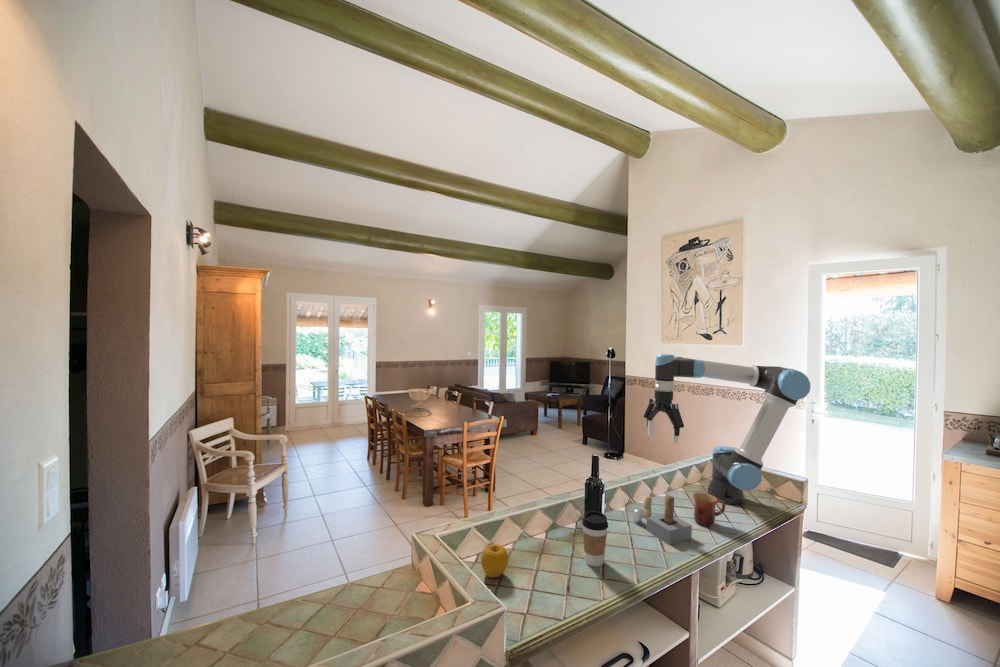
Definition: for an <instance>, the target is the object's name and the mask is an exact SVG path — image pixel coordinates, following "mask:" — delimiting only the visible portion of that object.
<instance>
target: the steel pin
mask: <svg viewBox="0 0 1000 667" xmlns="http://www.w3.org/2000/svg"><path fill="white" fill-rule="evenodd" d="M633 523H634V525H638V526H639V525H643V508H642V509H641V508H638V507H636V508H634V509H633Z"/></svg>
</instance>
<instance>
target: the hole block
mask: <svg viewBox="0 0 1000 667" xmlns="http://www.w3.org/2000/svg"><path fill="white" fill-rule="evenodd" d="M692 530H693V525H692V524H691V523H689V522H686V521H685V520H683V519H682V518H680V517H678V516H675V515H674V519H673V525H668V524H666V523H664V513H660V514H656V515H651V517H647V518H646V530H645V531H646V532H648V533H649V534H651V535H653V536H654V537H656V538H657V539H660V540H661V541H662V542H664V543H665V544H668V545H673V544H677V543H681V542H684V541H687V540H690V539H692Z"/></svg>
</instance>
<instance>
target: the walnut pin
mask: <svg viewBox="0 0 1000 667" xmlns="http://www.w3.org/2000/svg"><path fill="white" fill-rule="evenodd" d="M674 513H675V497H674V496H672V495H665V496H664V523H666V524H668V525H673V519H674V516H675V514H674Z"/></svg>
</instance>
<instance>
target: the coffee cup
mask: <svg viewBox="0 0 1000 667" xmlns="http://www.w3.org/2000/svg"><path fill="white" fill-rule="evenodd" d="M581 524H582V527H583V528H582V537H583V538H582V539H583V540H582V541H583V550H584V551H583V552H584V554H583V555H584V556H583V557H584V562H585V564H586V565H588V566H591V567H597V568H598V567H601V566H603V564H604V558H605V550H606V542H607V536H608V535H607V534H608V531H607V529H608V528H609V523H608V519H607V516H606V514H604V513H603V512H601V511H597V510H589V511H586V512H585V513H584V514H583V518H582V521H581Z"/></svg>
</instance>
